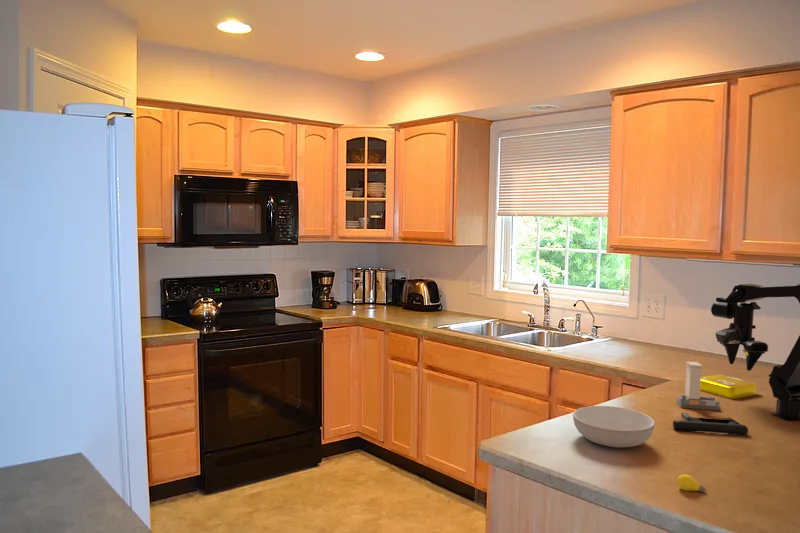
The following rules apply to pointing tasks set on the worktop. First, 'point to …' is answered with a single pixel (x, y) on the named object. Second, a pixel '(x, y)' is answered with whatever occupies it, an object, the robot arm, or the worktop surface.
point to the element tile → (727, 386)
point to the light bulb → (689, 484)
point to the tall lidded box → (693, 380)
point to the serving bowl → (613, 425)
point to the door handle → (709, 425)
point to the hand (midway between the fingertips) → (739, 367)
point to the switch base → (698, 403)
